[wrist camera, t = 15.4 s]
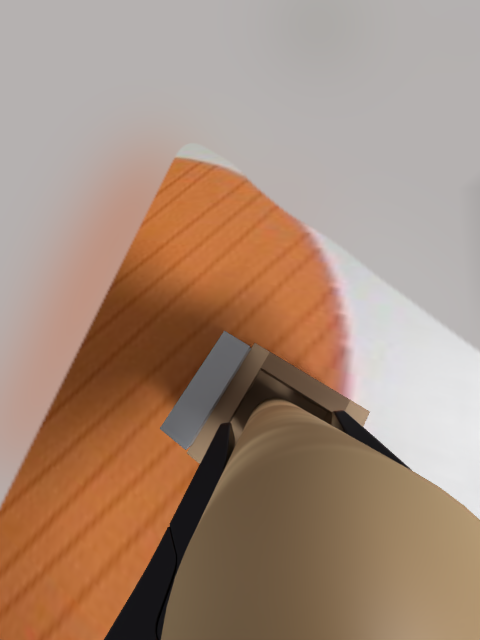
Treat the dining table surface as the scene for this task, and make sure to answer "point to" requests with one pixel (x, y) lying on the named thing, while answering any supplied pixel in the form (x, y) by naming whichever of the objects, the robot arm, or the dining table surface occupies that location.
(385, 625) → the dowel
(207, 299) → the dining table surface
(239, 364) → the wall
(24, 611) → the dining table surface
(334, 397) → the socket block
